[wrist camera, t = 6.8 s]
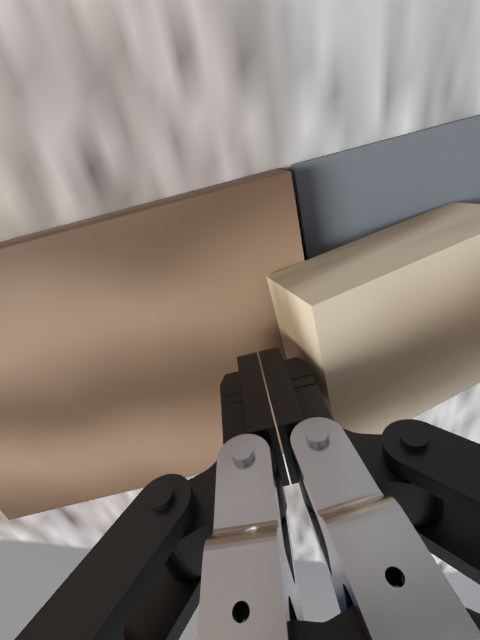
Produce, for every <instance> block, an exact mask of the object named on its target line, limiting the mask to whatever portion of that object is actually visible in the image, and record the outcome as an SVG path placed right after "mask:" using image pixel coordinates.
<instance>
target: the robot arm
mask: <svg viewBox="0 0 480 640" xmlns="http://www.w3.org/2000/svg"><path fill="white" fill-rule="evenodd" d="M258 352H259V356H260V360H261V364H262V368H263V372H264V377H265V381H266V385H267V389H268V393H269V397H270V401H271V405H272V409H273V413H274V417H275V420H276V424H277V428H278V432H279V436H280V440H281V444H282V448H283V452H284V456H285V459H286V463H287V467H288V471H289V475H290V479H291V483H292V484H294V483H299V485H300V489H301V492H302V496H303V500H304V504H305V509H306V512H307V515H308V518H309V520H310V523H311V526H312V529H313V531H314V534H315V537H316V540H317V543H318V545H319V548H320V551H321V554H322V556H323V559H324V562H325V565H326V568H327V570H328V573H329V576H330V579H331V581H332V584H333V588H334V590H335V594H336V598H337V601H338V604H339V608H340V611H341V613H340V614H339V615H337V616H335V617H334V618H332V619H330V620H329V621H326V622H323V623H321V622H309V621H304V618H303V612H302V607H301V603H300V598H299V592H298V586H297V579H296V572H295V565H294V558H293V551H292V544H291V537H290V530H289V523H288V516H287V512H286V510H287V503H286V498H285V494H284V489H283V486H287V485H290V484H289V480H288V476H287V472H286V468H285V464H284V460H283V456H282V452H281V448H280V443H279V439H278V435H277V431H276V427H275V423H274V419H273V415H272V411H271V407H270V403H269V399H268V395H267V391H266V387H265V383H264V379H263V375H262V371H261V367H260V363H259V359H258V355H257V352H254V353H250V354H246V355H242V356H238V357H237V363H238V370H239V371H237V372H233V373H229V374H225V376H224V378H223V380H222V382H221V384H220V397H221V415H222V431H223V446H222V448H221V449H220V451H219V453H218V456H217V461H216V462H215V463H214V464H213V465H212V466H211V467H210V468H209V469H207V470H206V471H204V472H203V473H201V474H199V475H197V476H195V477H194V478H192V479H190V480H187V479H186V478H185V477H183V476H181V475H179V474H166V475H163V476H160V477H158V478H156V479H154V480H153V481H151V482H150V483H149V484H148V485H147V486H146V487H145V488H144V489H143V490H142V491H141V492H140V493H139V495H138V496H137V497H136V498H135V499H134V500H133V502H132V503H131V504H130V505H129V506H128V507H127V509H126V510H125V511H124V512H123V513H122V514H121V516H120V517H119V518H118V519H117V520H116V521H115V523H114V524H113V525H112V526H111V527H110V528H109V530H108V531H107V532H106V533H105V534H104V536H103V537H102V538H101V539H100V540H99V541H98V543H97V544H96V545H95V546H94V547H93V548H92V550H91V551H90V552H89V553H88V554H87V556H86V557H85V558H84V559H83V560H82V561H81V563H80V564H79V565H78V566H77V567H76V568H75V569H74V571H73V572H72V573H71V574H70V575H69V577H68V578H67V579H66V580H65V581H64V582H63V584H62V585H61V586H60V587H59V588H58V589H57V590H56V592H55V593H54V594H53V595H52V596H51V598H50V599H49V600H48V601H47V602H46V603H45V605H44V606H43V607H42V608H41V609H40V610H39V612H38V613H37V614H36V615H35V616H34V618H33V619H32V620H31V621H30V622H29V623H28V624H27V626H26V627H25V628H24V629H23V630H22V631H21V633H20V634H19V635H18V636H17V637H16V639H15V640H179V638H180V636H181V634H182V633H183V631H184V629H185V627H186V625H187V624H188V622H189V620H190V618H191V617H192V615H193V613H194V611H195V610H196V608H197V606H198V604H199V615H198V616H199V617H198V629H197V640H480V614H479V613H477V612H474V611H473V610H471V609H468V608H465V607H464V605H463V604H462V602H461V601H460V599H459V598H458V596H457V594H456V593H455V591H454V590H453V588H452V586H451V585H450V583H449V582H448V580H447V579H446V577H445V575H444V574H443V572H442V571H441V569H440V567H439V566H438V564H437V563H436V561H435V560H434V558H433V556H432V555H431V553H432V554H434V555H435V556H437V557H438V558H440V559H441V560H443V561H444V562H446V563H447V564H449V565H450V566H452V567H453V568H455V569H457V570H458V571H460V572H461V573H463V574H464V575H466V576H467V577H469V578H471V579H472V580H473V581H475V582H477V583H478V584H480V444H478V443H476V442H473V441H471V440H468V439H466V438H463V437H461V436H458V435H456V434H453V433H451V432H448V431H446V430H443V429H441V428H438V427H436V426H433V425H431V424H428V423H426V422H423V421H419V420H413V419H403V420H398V421H395V422H392V423H391V424H389V425H388V426H387V427H386V428H385V429H384V431H383V433H382V434H361V433H355V432H352V431H349V430H346V429H344V428H343V427H341V426H340V425H339V424H338V423H336V422H335V421H334V419H333V418H332V416H331V414H330V411H329V409H328V407H327V405H326V403H325V401H324V399H323V397H322V394H321V392H320V390H319V388H318V386H317V385H316V382H315V380H314V377H313V376H312V373H311V371H310V369H309V367H308V365H307V364H306V363H305V362H304V361H302V360H301V359H300V358H298V357H294V358H290V359H286V360H283V357H282V354H281V351H280V349H279V347H274V348H270V349H266V350H262V351H258Z"/></svg>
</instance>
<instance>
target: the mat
mask: <svg viewBox="0 0 480 640" xmlns="http://www.w3.org/2000/svg"><path fill="white" fill-rule="evenodd" d="M292 168H293V174H294V181H295V188H296V194H297V201H298V208H299V214H300V221H301V228H302V234H303V241H304V247H305V254H306V260H308V259H311V258H313V257H316V256H318V255H321V254H323V253H326V252H328V251H331V250H333V249H336V248H338V247H341V246H343V245H346V244H348V243H351V242H353V241H356V240H358V239H361V238H363V237H366V236H368V235H371V234H373V233H376V232H378V231H381V230H384V229H386V228H389V227H391V226H394V225H396V224H399V223H401V222H404V221H406V220H409V219H411V218H414V217H416V216H419V215H421V214H424V213H426V212H429V211H431V210H434V209H436V208H439V207H441V206H444V205H446V204H449V203H451V202H460V203H472V204H480V115H476V116H473V117H469V118H465V119H461V120H458V121H454V122H450V123H446V124H443V125H439V126H435V127H431V128H428V129H424V130H420V131H416V132H413V133H409V134H405V135H401V136H397V137H394V138H390V139H386V140H382V141H379V142H375V143H371V144H367V145H364V146H360V147H356V148H352V149H349V150H345V151H341V152H337V153H334V154H330V155H326V156H322V157H319V158H315V159H311V160H307V161H304V162H300V163H296V164H292Z"/></svg>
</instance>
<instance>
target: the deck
mask: <svg viewBox="0 0 480 640" xmlns="http://www.w3.org/2000/svg"><path fill="white" fill-rule="evenodd" d="M303 261H305V260H304V254H303V247H302V241H301V234H300V228H299V221H298V215H297V208H296V202H295V195H294V189H293V182H292V175H291V172H290V171H287V170H283V169H280V168H277V169H273V170H270V171H266V172H262V173H258V174H255V175H251V176H247V177H243V178H240V179H236V180H232V181H228V182H225V183H221V184H217V185H213V186H210V187H206V188H202V189H198V190H195V191H191V192H187V193H183V194H180V195H176V196H172V197H168V198H165V199H161V200H157V201H153V202H149V203H146V204H142V205H138V206H134V207H131V208H127V209H123V210H119V211H116V212H112V213H108V214H104V215H101V216H97V217H93V218H89V219H86V220H82V221H78V222H74V223H71V224H67V225H63V226H59V227H56V228H52V229H48V230H44V231H40V232H37V233H33V234H29V235H25V236H22V237H18V238H14V239H10V240H7V241H3V242H0V510H1V512H2V513H3V514H4V515H5V516H6V517H7V518H8V519H9V520H11V519H15V518H19V517H23V516H27V515H31V514H35V513H40V512H44V511H48V510H52V509H56V508H60V507H64V506H69V505H73V504H77V503H81V502H85V501H89V500H93V499H97V498H102V497H106V496H110V495H114V494H118V493H122V492H126V491H131V490H135V489H139V488H143V487H146V486H147V485H148V484H149V483H150V482H151V481H153V480H154V479H156V478H158V477H160V476H163V475H166V474H179V475H181V476H183V477H188V476H193V475H197V474H201V473H203V472H204V471H206V470H207V469H209V468H210V467H211V466H212V465H213V464H214V463H215V462H216V461H217V456H218V453H219V451H220V449H221V448H222V446H223V431H222V415H221V397H220V384H221V382H222V380H223V378H224V376H225V374H229V373H233V372H237V371H239V370H238V363H237V357H238V356H242V355H246V354H250V353H254V352H257V355H258V359H259V363H260V367H261V371H262V375H263V379H264V383H265V387H266V391H267V395H268V399H269V403H270V407H271V411H272V415H273V419H274V423H275V427H276V431H277V435H278V439H279V443H280V448H281V452H282V454H284V452H283V448H282V444H281V440H280V436H279V432H278V428H277V424H276V420H275V417H274V413H273V409H272V405H271V401H270V397H269V393H268V389H267V385H266V381H265V377H264V372H263V368H262V364H261V360H260V356H259V352H258V351H262V350H266V349H270V348H274V347H279V349H280V351H281V354H282V357H283V360H286V359H287V358H286V354H285V350H284V346H283V342H282V338H281V334H280V330H279V326H278V322H277V318H276V314H275V310H274V306H273V302H272V298H271V294H270V290H269V286H268V282H267V278H266V276H268V275H271V274H273V273H276V272H278V271H281V270H283V269H286V268H288V267H291V266H293V265H296V264H298V263H301V262H303Z"/></svg>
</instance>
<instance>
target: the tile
mask: <svg viewBox="0 0 480 640" xmlns="http://www.w3.org/2000/svg"><path fill="white" fill-rule="evenodd" d="M266 278H267V282H268V286H269V290H270V294H271V298H272V302H273V306H274V310H275V314H276V318H277V322H278V326H279V330H280V334H281V338H282V342H283V346H284V350H285V354H286V358H287V359H290V358H294V357H298V358H300V359H301V360H302V361H304V362H305V363H306V364H307V365H308V367H309V369H310V371H311V373H312V376H313V377H314V380H315V382H316V385H317V386H318V388H319V390H320V392H321V394H322V397H323V399H324V401H325V403H326V405H327V407H328V409H329V411H330V414H331V416H332V418H333V419H334V421H335V422H336V423H338V424H339V425H340V426H341V427H343V428H344V429H346V430H349V431H352V432H355V433H361V434H382V433H383V431H384V429H385V428H386V427H387V426H388V425H389V424H391V423H392V422H395V421H398V420H403V419H412V418H414V417H416V416H417V415H419V414H421V413H423V412H425V411H427V410H429V409H431V408H432V407H434V406H436V405H438V404H440V403H442V402H444V401H445V400H447V399H449V398H451V397H453V396H455V395H457V394H459V393H460V392H462V391H464V390H466V389H468V388H470V387H472V386H474V385H475V384H477V383H479V382H480V204H472V203H460V202H451V203H449V204H446V205H444V206H441V207H439V208H436V209H434V210H431V211H429V212H426V213H424V214H421V215H419V216H416V217H414V218H411V219H409V220H406V221H404V222H401V223H399V224H396V225H394V226H391V227H389V228H386V229H384V230H381V231H378V232H376V233H373V234H371V235H368V236H366V237H363V238H361V239H358V240H356V241H353V242H351V243H348V244H346V245H343V246H341V247H338V248H336V249H333V250H331V251H328V252H326V253H323V254H321V255H318V256H316V257H313V258H311V259H308V260H306V261H303V262H301V263H298V264H296V265H293V266H291V267H288V268H286V269H283V270H281V271H278V272H276V273H273V274H271V275H268V276H266Z"/></svg>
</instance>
